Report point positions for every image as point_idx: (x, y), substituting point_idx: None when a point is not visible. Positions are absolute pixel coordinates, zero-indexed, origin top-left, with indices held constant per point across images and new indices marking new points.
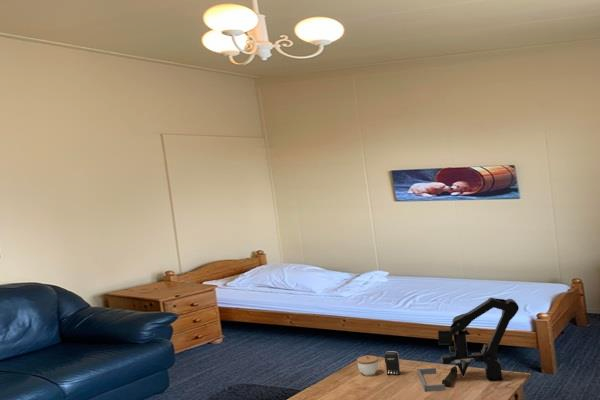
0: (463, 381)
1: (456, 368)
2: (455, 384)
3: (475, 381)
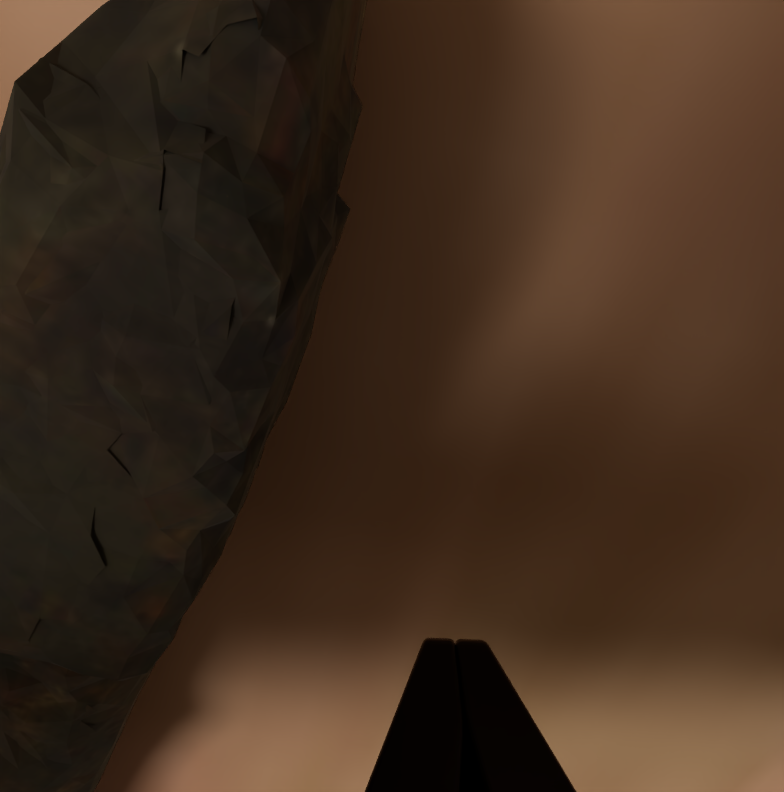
0: (404, 680)
1: (243, 494)
2: (179, 773)
3: (689, 732)
